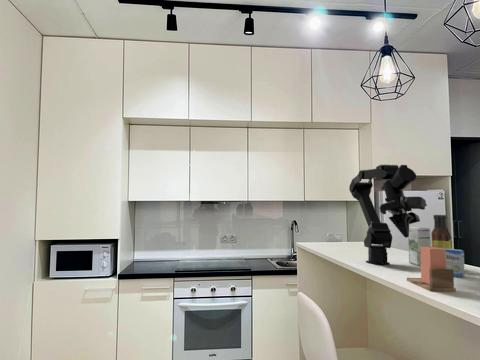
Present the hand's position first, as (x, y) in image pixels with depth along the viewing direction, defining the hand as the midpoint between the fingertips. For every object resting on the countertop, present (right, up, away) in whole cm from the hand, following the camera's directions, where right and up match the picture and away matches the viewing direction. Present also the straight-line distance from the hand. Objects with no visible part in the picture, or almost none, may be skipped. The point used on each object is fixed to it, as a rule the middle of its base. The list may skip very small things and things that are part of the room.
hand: (406, 237), depth 103 cm
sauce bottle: (+18, -14, +9) cm, 25 cm away
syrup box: (+15, -14, +19) cm, 28 cm away
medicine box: (+15, -13, +1) cm, 20 cm away
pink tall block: (0, -10, -15) cm, 18 cm away
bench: (-1, -12, -13) cm, 18 cm away
